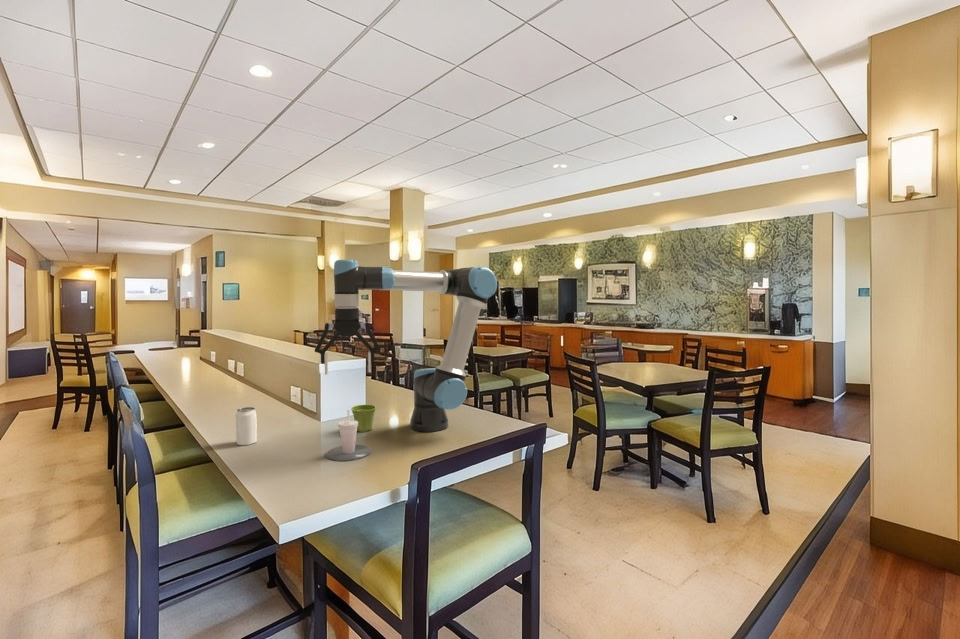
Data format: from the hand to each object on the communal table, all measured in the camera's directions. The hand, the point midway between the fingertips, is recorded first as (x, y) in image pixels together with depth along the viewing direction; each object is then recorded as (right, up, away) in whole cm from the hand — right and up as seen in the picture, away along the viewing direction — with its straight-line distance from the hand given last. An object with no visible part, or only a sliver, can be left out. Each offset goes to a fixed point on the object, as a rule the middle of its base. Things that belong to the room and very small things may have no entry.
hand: (348, 372), depth 151 cm
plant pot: (-2, -25, +27) cm, 37 cm away
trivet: (0, -27, +1) cm, 27 cm away
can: (-39, -26, +12) cm, 48 cm away
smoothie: (0, -26, +1) cm, 26 cm away
